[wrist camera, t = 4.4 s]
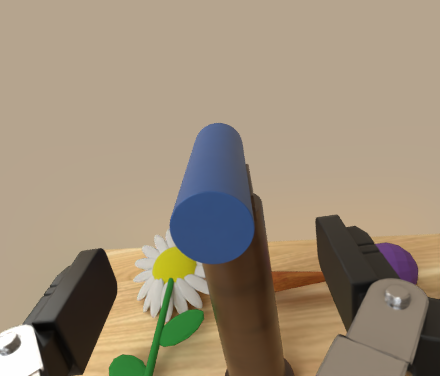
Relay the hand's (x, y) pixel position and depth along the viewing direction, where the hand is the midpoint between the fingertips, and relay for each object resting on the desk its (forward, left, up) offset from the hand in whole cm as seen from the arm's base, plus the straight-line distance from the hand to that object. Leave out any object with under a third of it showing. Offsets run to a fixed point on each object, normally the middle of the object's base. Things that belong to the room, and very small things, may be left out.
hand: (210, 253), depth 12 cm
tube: (-5, -6, 0) cm, 8 cm away
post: (-6, -8, -22) cm, 24 cm away
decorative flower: (-3, -19, -22) cm, 29 cm away
